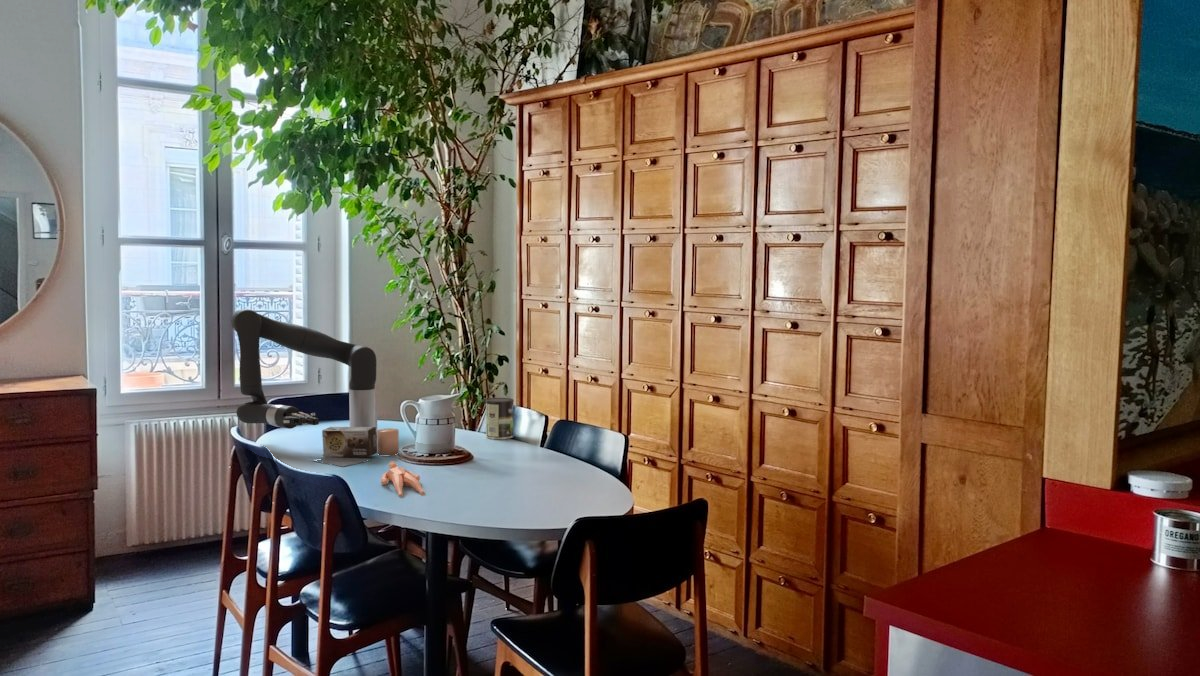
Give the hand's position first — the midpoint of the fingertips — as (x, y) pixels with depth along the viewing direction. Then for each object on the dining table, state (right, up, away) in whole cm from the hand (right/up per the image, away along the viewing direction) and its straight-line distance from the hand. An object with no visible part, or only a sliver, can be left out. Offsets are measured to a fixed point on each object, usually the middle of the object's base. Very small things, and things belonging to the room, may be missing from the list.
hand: (317, 421), depth 285 cm
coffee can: (+56, -9, +37) cm, 68 cm away
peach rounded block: (+22, -11, +6) cm, 25 cm away
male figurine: (+36, -16, -35) cm, 53 cm away
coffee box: (+3, -7, +1) cm, 7 cm away
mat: (+10, -12, -5) cm, 16 cm away
